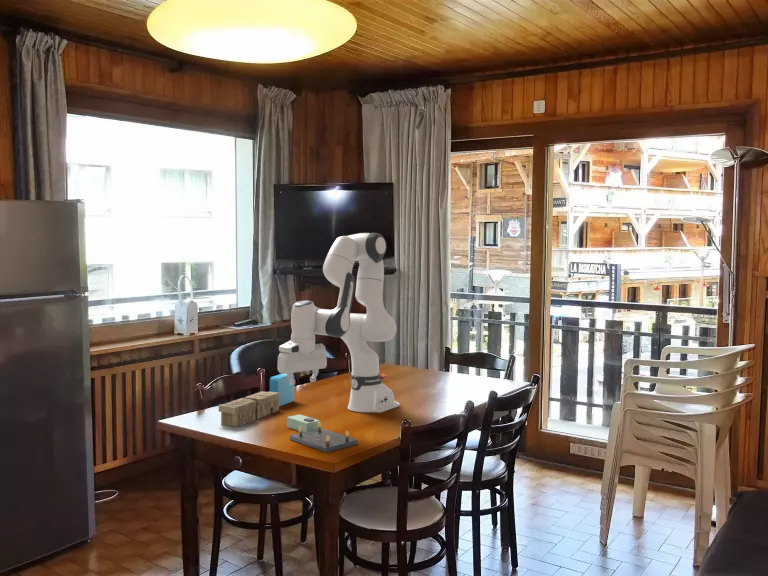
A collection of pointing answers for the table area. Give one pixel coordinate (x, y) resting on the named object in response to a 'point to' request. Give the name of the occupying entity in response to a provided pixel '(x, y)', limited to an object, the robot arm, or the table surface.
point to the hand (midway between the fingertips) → (302, 383)
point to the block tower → (249, 408)
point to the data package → (282, 388)
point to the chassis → (323, 439)
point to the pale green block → (302, 422)
